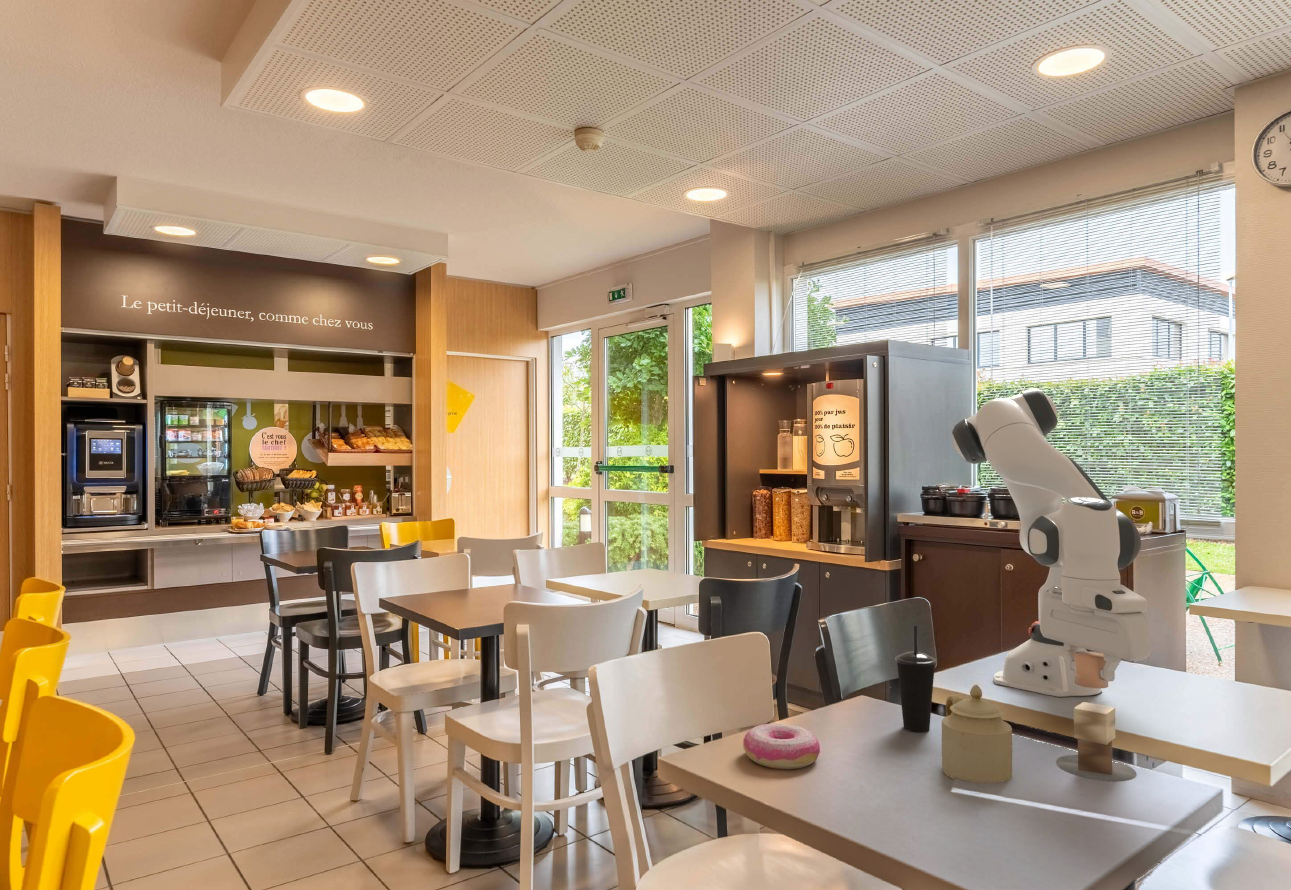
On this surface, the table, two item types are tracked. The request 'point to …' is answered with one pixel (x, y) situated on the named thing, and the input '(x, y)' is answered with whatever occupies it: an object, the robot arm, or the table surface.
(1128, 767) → the slate coaster
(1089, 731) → the beech cube
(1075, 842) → the table surface
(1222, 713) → the table surface
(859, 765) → the table surface
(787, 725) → the donut
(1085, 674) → the terracotta cylinder
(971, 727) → the sugar bowl
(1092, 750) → the walnut cube
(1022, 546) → the robot arm
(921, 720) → the drinking cup
